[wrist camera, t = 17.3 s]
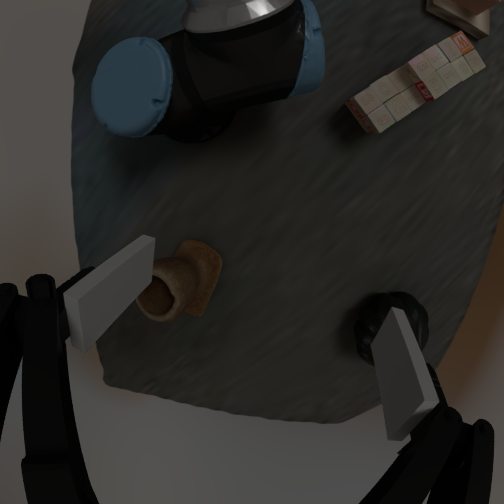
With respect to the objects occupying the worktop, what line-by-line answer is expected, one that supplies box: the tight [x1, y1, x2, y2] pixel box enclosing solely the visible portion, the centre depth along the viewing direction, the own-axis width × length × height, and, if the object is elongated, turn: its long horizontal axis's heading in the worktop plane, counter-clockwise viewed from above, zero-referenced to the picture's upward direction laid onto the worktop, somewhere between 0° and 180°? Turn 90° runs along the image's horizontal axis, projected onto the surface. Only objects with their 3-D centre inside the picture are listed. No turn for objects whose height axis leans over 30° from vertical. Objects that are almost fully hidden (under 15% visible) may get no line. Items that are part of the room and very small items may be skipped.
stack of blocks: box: [345, 31, 486, 133], centre depth 33 cm, size 21×6×12 cm, turn 129°
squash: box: [354, 292, 429, 366], centre depth 49 cm, size 14×15×15 cm
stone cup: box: [135, 240, 222, 322], centre depth 52 cm, size 15×12×15 cm
